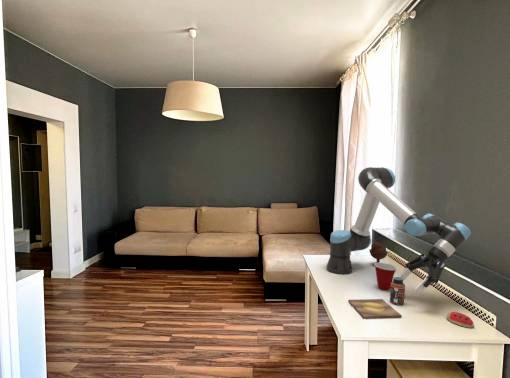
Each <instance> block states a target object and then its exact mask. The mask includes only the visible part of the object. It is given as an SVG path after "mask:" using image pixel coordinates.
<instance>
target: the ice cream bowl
mask: <svg viewBox="0 0 510 378" xmlns="http://www.w3.org/2000/svg"><path fill="white" fill-rule="evenodd" d="M370 246H371V248H369V249H368V250H369V254H370V256H371V257H372V258H373V259H375V260H376V263H381V262H380V261H381V260H383V259H385V258H386V257H387V256H388V253H389V252H388V250H386V247H385V246H384V245H382V243H381V242H379V241H378V242H377V241H375V242H373V243H372V244H371V245H370ZM373 266H374V267H375V265H374V263H373Z"/></svg>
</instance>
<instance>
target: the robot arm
mask: <svg viewBox="0 0 510 378" xmlns="http://www.w3.org/2000/svg"><path fill="white" fill-rule="evenodd" d="M357 178H358V183H359V185H360V187H361V188H362V189H363V191H364V192H365V196H364V198H363V201H362V205H361V206H360V210H359V212H358V215H357V217H356V220H355V223H354V225H351V227H350V229H349V230H345V229H342V230H341V229H339V230H334V231H331V233H330V238H329V247H330V248H329V258H328V262H327V263H326V270H327V271H328V272H331V273H333V274H339V275H349V274H352V273H353V264H352V261H351V252H356V251H357V252H358V251H364V250H366V249H368V248H369V247H370V246H371V245H372V244H371V243H372V237H371V232H370V228H371V225H372V223H373V220H374V218H375V215H376V213H377V211H378V208H379V205H380V204H382V206H384V207H385V208H386V209H387V210H388V211H389V212H390V213H391V214H392V215H393V216H394V217H395V218H397V219H398V221H400V222H401V223H402V224H403V225H404V229H405V232H406V233H407V235H409V236H411V237H421V236H424V235H426V236H427V235H432V234H433V235H436V236H437V237H439V240H437V242H435V243H434V245H433V246H432V247H431V248H430V249H429V250H428V251H427V255H425V254H424V253H421V254H420V255H419V256H416V257H415V258H414V259H412V260H410V261H409V262H407V263H405V269H404V270H403V271H402V272H401V273H400V274H399V275H398V277H400V278H402V279H403V282H404V281H405V280H406V279H407V278H408V277H409V276H410V275H411V273H412V272H413V271H415V270H418V269H419V268H422V267H423V268H425V267H426V268H428V272H427V273H428V274H427V277H425V278H424V279H423V280H422V281H421V282H420V283H419V284H418V285H417V286H416V287H415V290H416V291H417V292H418V294H422V292H423V291H424V290H425V289H426V288H428V287H429V286H430V285H431V284H432V283H433V284H434V283H435V284H438V283H439V280H440V278H441V275H442V273H443V270H444V269H445V267H446V264H445V262H446V261H447V260H448V258H449V257H451V256H452V254H454V253H455V251H457V250H458V249H459V247H460V246H462V244H464V242H466V241H467V239H468V238H469V236H471V235H472V231H471V230H470V228H469V227H468V226H466V225H465V224H463V223H461V222H454V223H453V224H452V223H449V222H447V221H446V220H444V219H442V218H440V217H438V216H437V215H434V214H433V213H426V214H425V215H423V216H422V217H421V216H420V215H419V214H418V213H417V212H415V211H414V210H413V209H412V208H411V207H410V206H409V205H407V204H406V203H405V202H404V201H403V200H401V199H400V198H399V197H398V196H397V195H396V194H395V193H393V192H392V191H391V190H390V188H392V187H393V186H394V185H395V184H396V183H395V182H396V175H395V173H394V172H393V170H392V169H390V168H388V167H385V166H384V167H381V166H380V167H374V166H373V167H370V166H369V167H365V168H363V169H362V170H361V171H360V172H359V173H358V177H357Z"/></svg>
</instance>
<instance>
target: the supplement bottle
mask: <svg viewBox="0 0 510 378" xmlns="http://www.w3.org/2000/svg"><path fill="white" fill-rule="evenodd" d="M405 290H406V284H405V283H404V281H403V279H402V278H400V277H399V276H393V280H392V282H391V288H390V290H389V291H390V292H389V302H390V303H391V304H393V305H396V306H402V305H404V304H405V295H406V291H405Z"/></svg>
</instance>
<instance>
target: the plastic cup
mask: <svg viewBox="0 0 510 378" xmlns="http://www.w3.org/2000/svg"><path fill="white" fill-rule="evenodd" d="M373 264H374V265H375V266H374V265H373V266H374V268H375V270H374V271H375V275H376V283H377V288H378V289H380V290H382V291H390V289H391V282H393V278H394V277H395V276H394V275H395V272H396V271H397V270H398V267H397V266H395V265H392V264H390V263H385V262H380V263H377V262H375V263H374V262H373Z"/></svg>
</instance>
